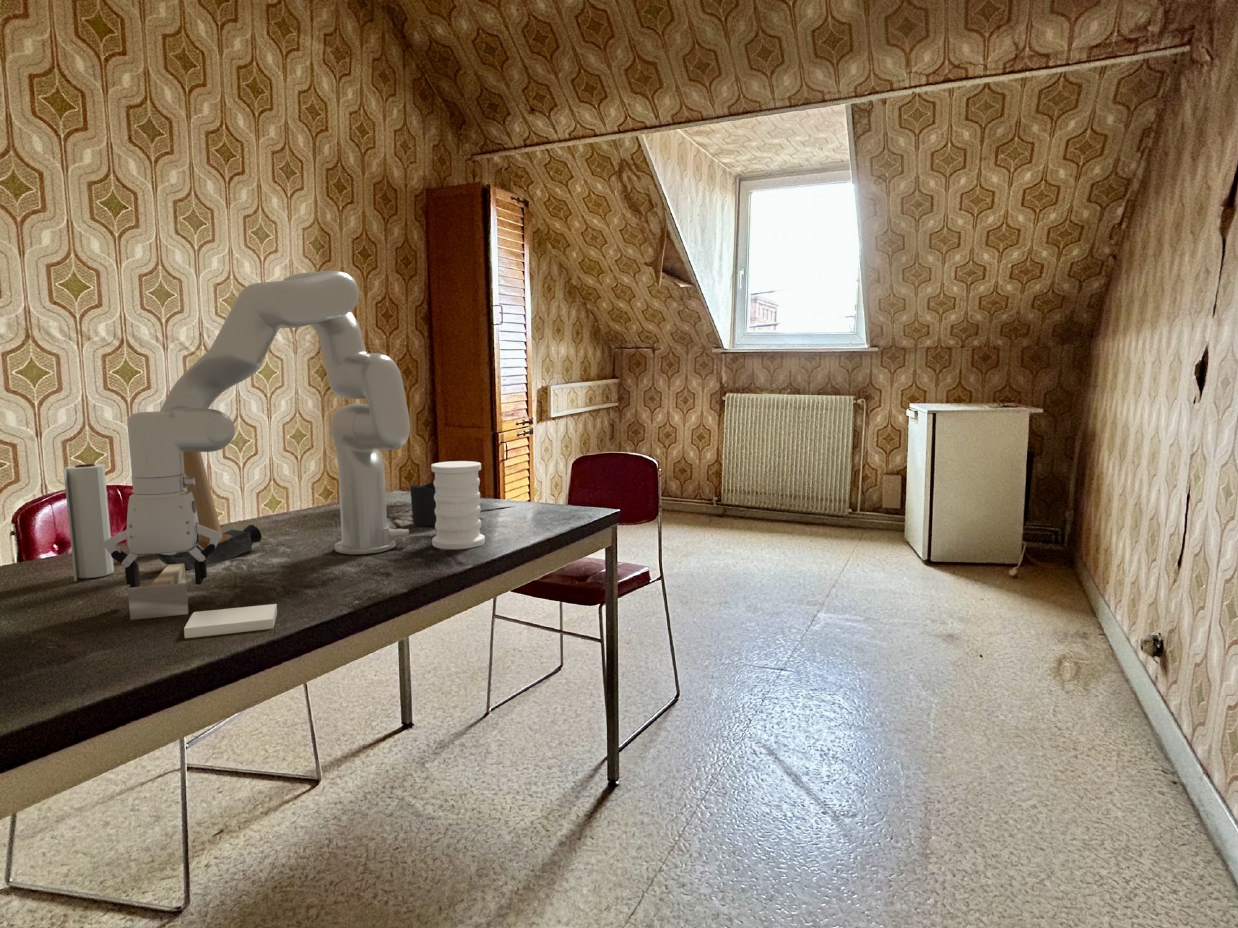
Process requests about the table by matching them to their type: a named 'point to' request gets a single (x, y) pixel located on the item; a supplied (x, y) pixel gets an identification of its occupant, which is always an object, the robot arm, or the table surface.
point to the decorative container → (457, 505)
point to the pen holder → (423, 505)
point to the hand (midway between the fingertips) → (168, 585)
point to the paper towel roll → (88, 520)
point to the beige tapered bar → (161, 595)
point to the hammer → (210, 520)
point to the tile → (231, 620)
